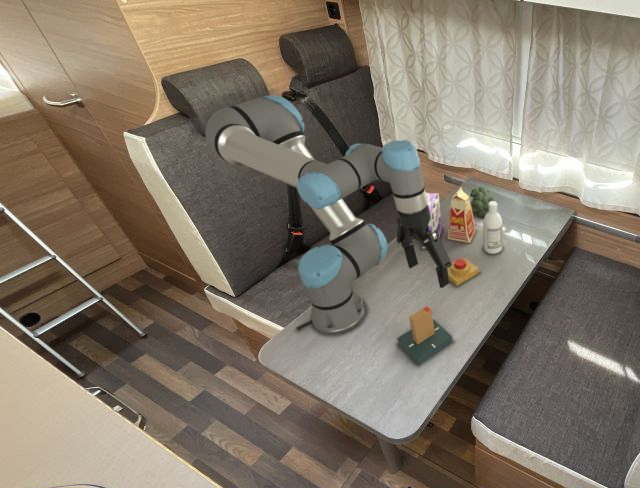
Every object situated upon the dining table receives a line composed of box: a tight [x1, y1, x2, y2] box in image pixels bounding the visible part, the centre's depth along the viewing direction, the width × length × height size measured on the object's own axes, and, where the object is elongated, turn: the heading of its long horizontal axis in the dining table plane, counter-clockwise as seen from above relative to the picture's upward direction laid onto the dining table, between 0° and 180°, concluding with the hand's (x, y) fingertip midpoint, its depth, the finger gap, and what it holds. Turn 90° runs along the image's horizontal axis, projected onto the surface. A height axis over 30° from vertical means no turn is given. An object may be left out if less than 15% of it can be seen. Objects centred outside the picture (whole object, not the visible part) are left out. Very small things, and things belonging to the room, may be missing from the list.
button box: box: [447, 257, 480, 287], centre depth 140 cm, size 10×8×4 cm
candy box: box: [421, 192, 443, 250], centre depth 150 cm, size 14×6×16 cm, turn 179°
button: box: [454, 258, 466, 269], centre depth 138 cm, size 4×4×2 cm
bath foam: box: [482, 200, 504, 255], centre depth 146 cm, size 7×7×20 cm
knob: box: [408, 305, 435, 344], centre depth 112 cm, size 6×2×10 cm, turn 135°
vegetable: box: [469, 186, 495, 219], centre depth 167 cm, size 12×13×15 cm
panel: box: [396, 318, 453, 366], centre depth 116 cm, size 12×10×3 cm
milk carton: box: [447, 186, 476, 244], centre depth 152 cm, size 9×9×20 cm
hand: (428, 275), depth 110 cm, fingers open, 13 cm apart
